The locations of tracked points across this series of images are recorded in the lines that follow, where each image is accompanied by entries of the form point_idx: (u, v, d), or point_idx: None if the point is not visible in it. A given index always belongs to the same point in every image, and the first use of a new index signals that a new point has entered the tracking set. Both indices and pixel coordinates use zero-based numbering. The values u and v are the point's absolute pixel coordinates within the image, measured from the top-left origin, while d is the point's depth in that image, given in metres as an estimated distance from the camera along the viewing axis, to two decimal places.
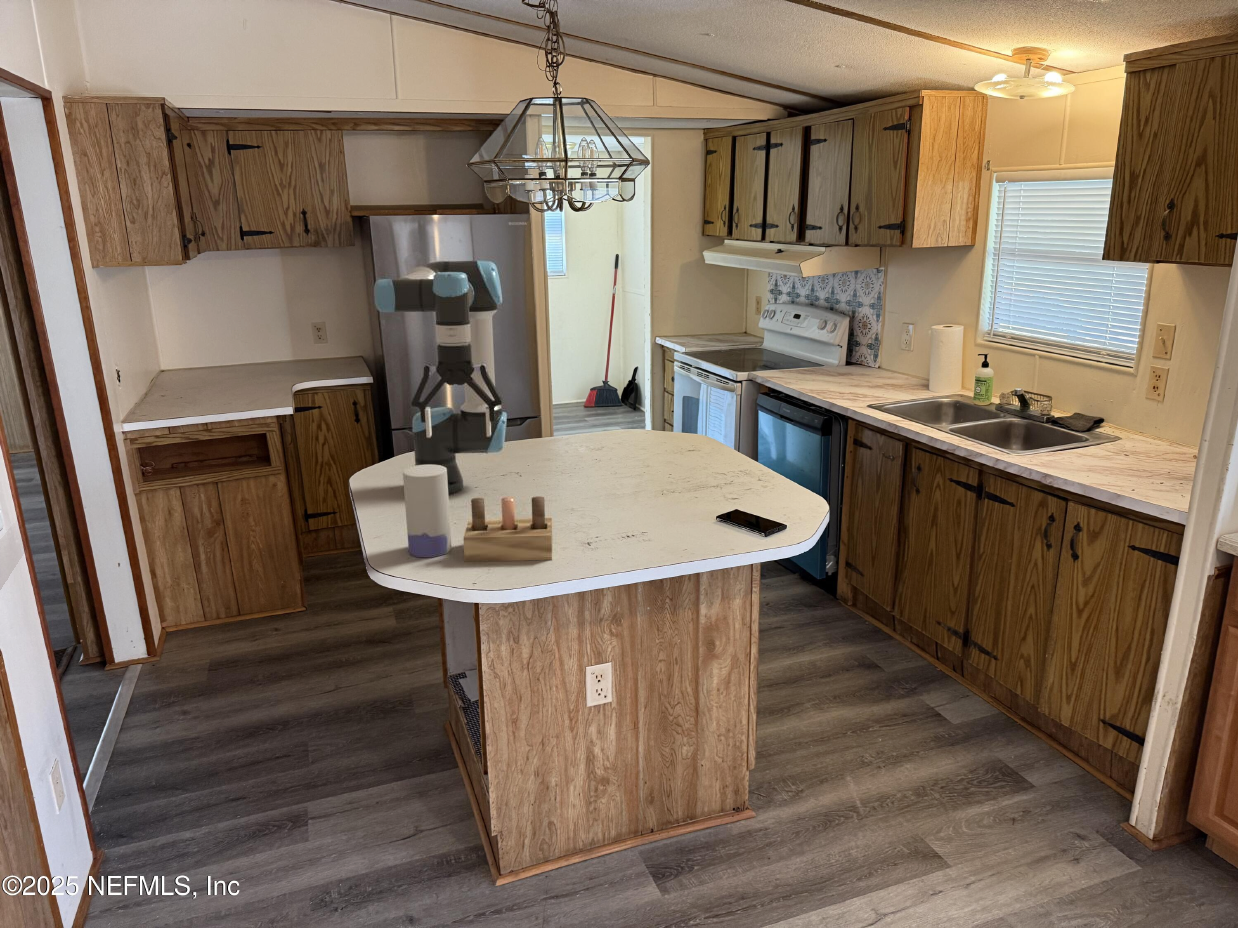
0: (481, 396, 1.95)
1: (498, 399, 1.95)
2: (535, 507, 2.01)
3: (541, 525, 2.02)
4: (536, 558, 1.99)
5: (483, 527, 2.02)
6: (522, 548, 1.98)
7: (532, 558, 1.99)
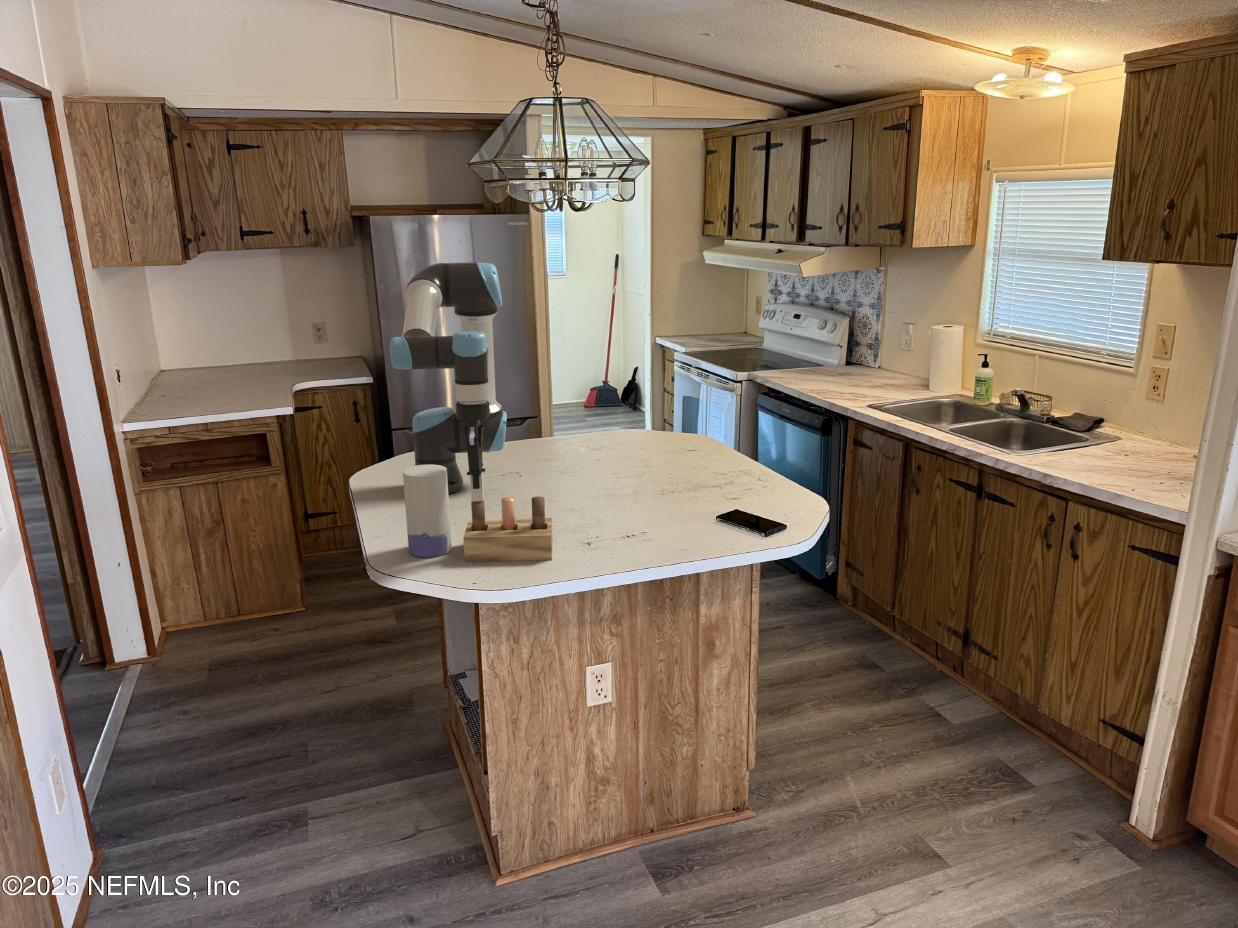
0: None
1: (469, 469, 1.95)
2: (535, 507, 2.01)
3: (541, 525, 2.02)
4: (536, 558, 1.99)
5: (483, 528, 2.02)
6: (522, 548, 1.98)
7: (532, 558, 1.99)
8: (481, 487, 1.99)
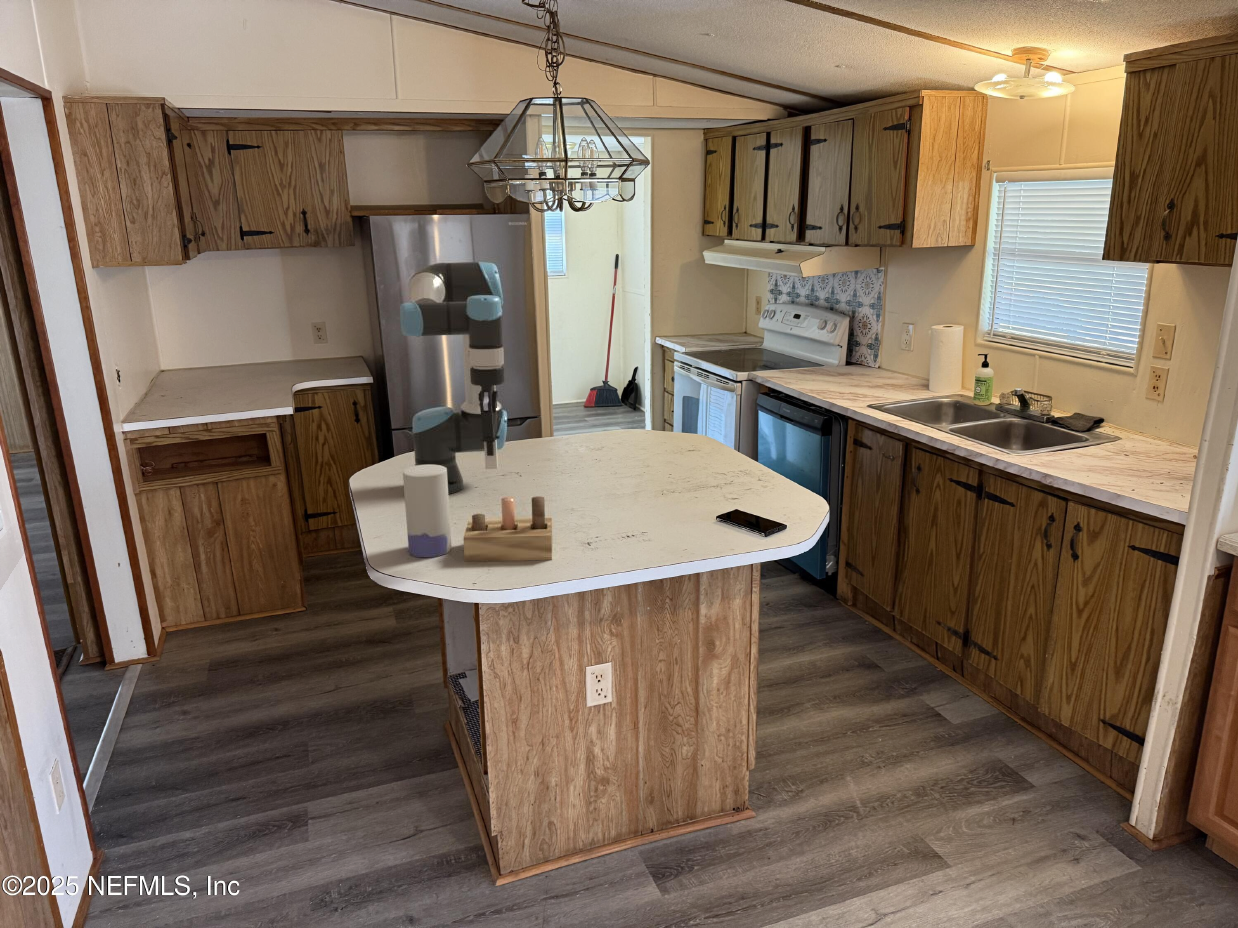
0: None
1: (482, 436, 1.93)
2: (535, 507, 2.01)
3: (541, 525, 2.02)
4: (536, 558, 1.99)
5: None
6: (522, 548, 1.98)
7: (532, 558, 1.99)
8: (495, 454, 1.97)
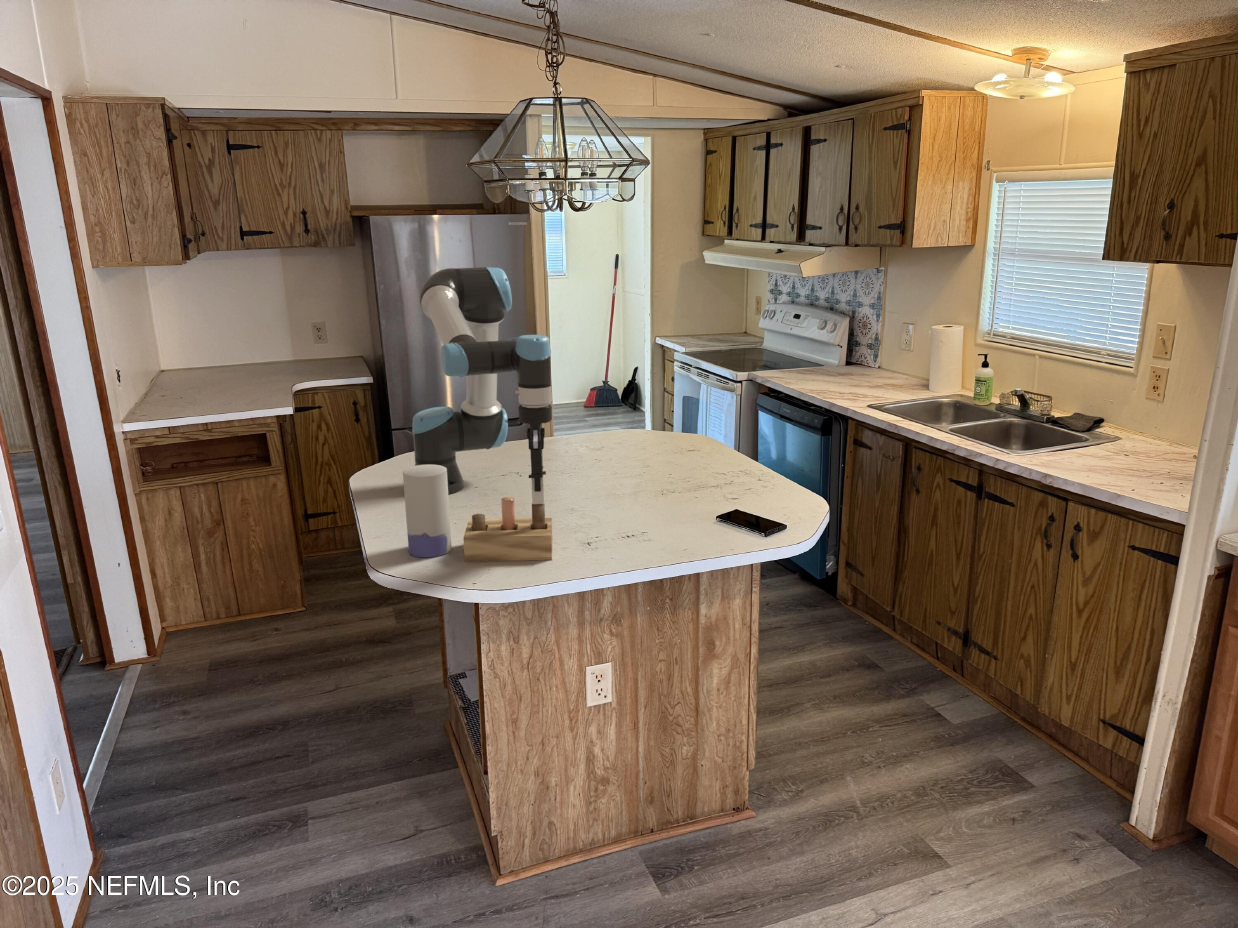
0: None
1: None
2: (535, 512, 2.01)
3: None
4: (536, 558, 1.99)
5: None
6: (522, 548, 1.98)
7: (532, 558, 1.99)
8: (542, 490, 2.00)
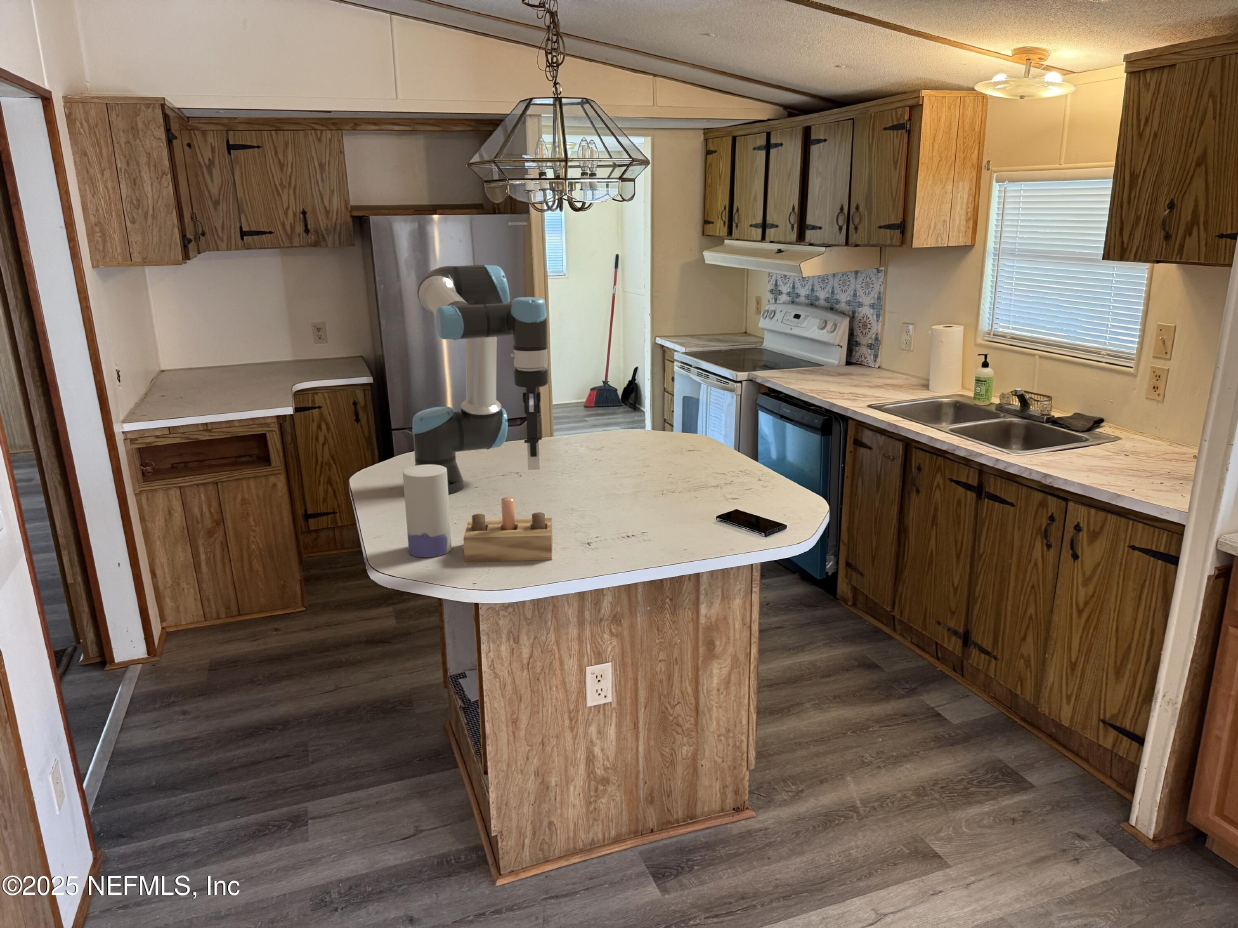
0: None
1: (527, 437, 1.94)
2: (535, 523, 2.02)
3: None
4: (536, 558, 1.99)
5: None
6: (522, 548, 1.98)
7: (532, 558, 1.99)
8: (538, 455, 1.98)
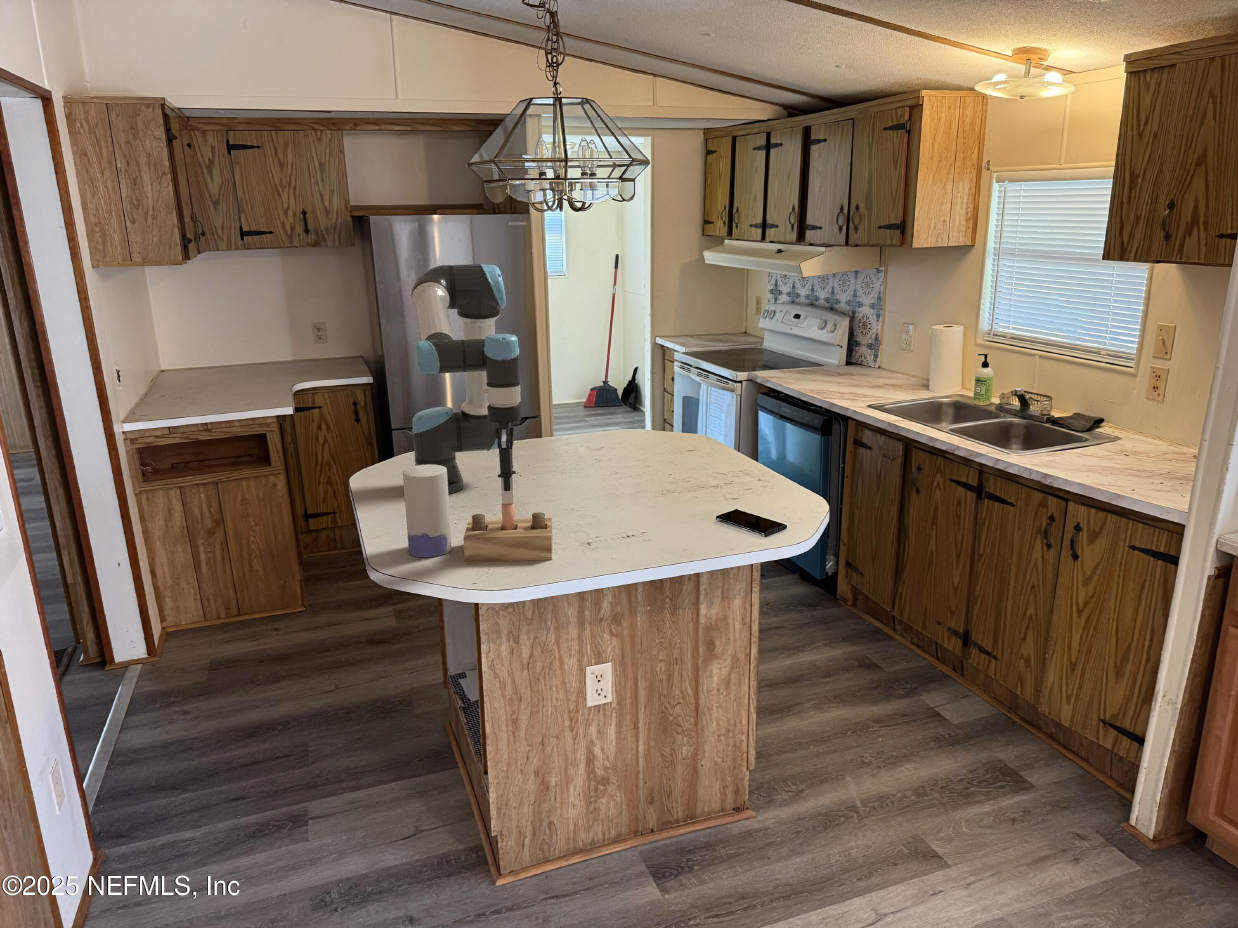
0: None
1: (500, 472, 1.95)
2: (535, 523, 2.02)
3: None
4: (536, 558, 1.99)
5: None
6: (522, 548, 1.98)
7: (532, 558, 1.99)
8: (512, 489, 2.00)
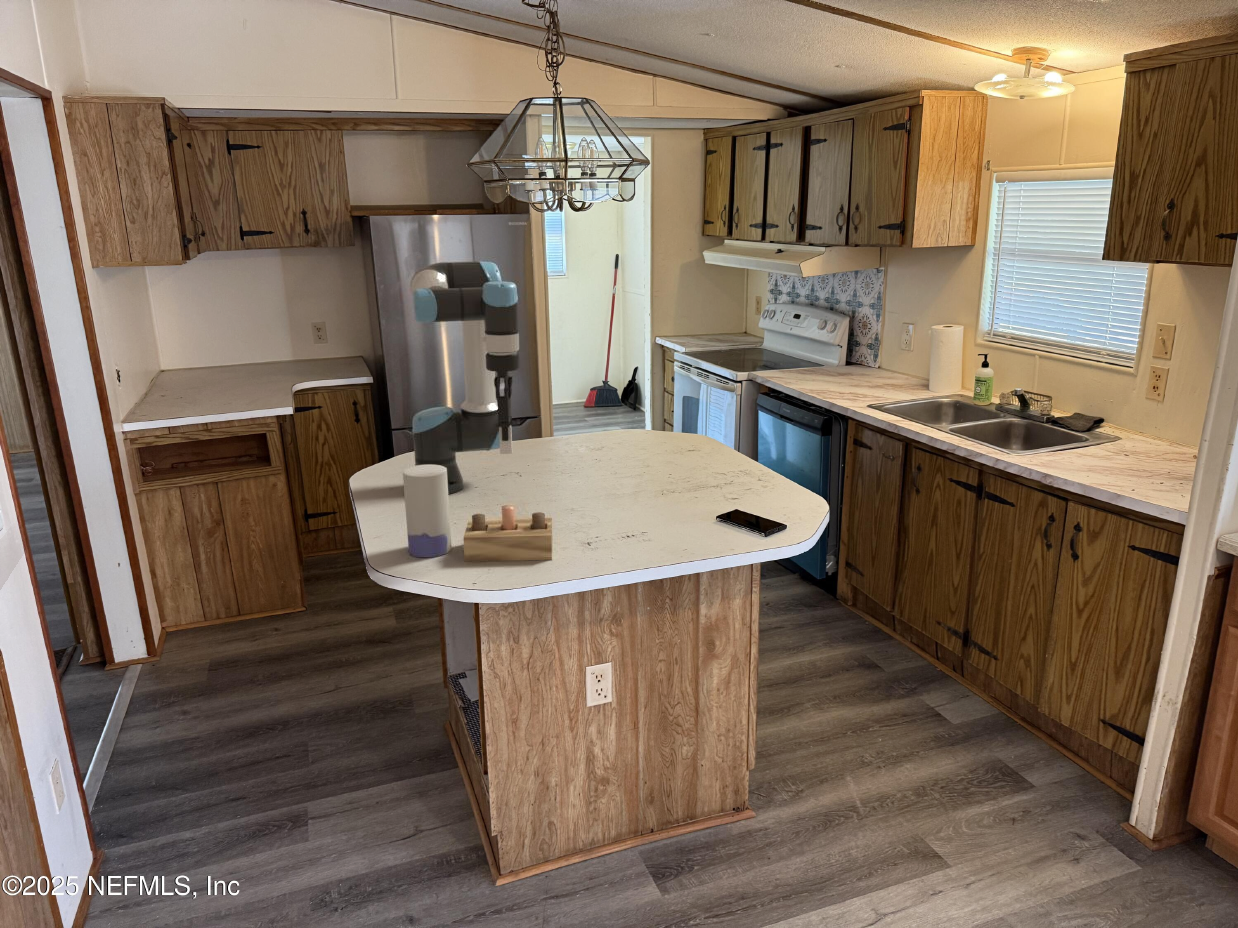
0: None
1: None
2: (535, 523, 2.02)
3: None
4: (536, 558, 1.99)
5: None
6: (522, 548, 1.98)
7: (532, 558, 1.99)
8: (510, 439, 1.99)
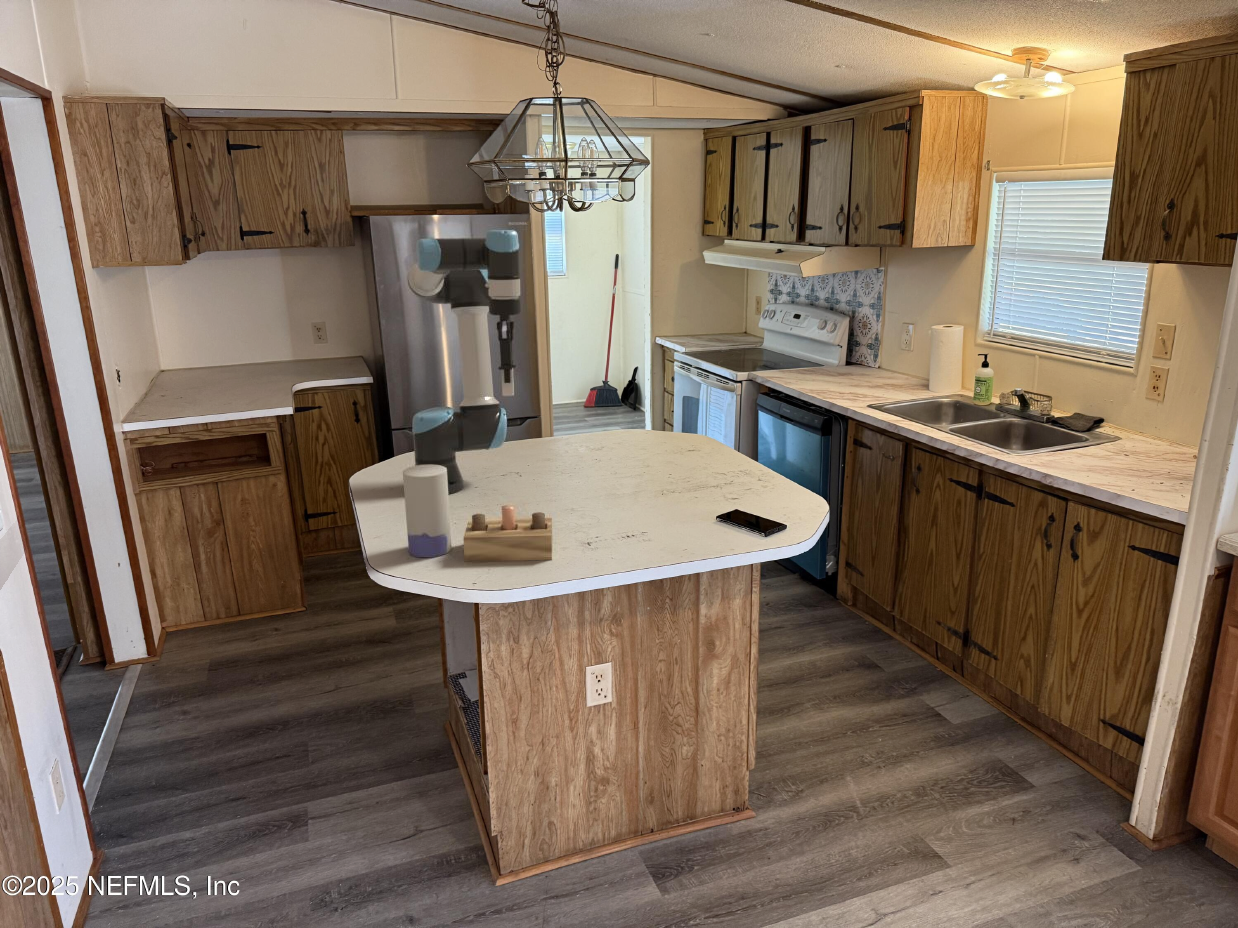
0: None
1: (501, 363, 2.05)
2: (535, 523, 2.02)
3: None
4: (536, 558, 1.99)
5: None
6: (522, 548, 1.98)
7: (532, 558, 1.99)
8: (512, 382, 2.09)
